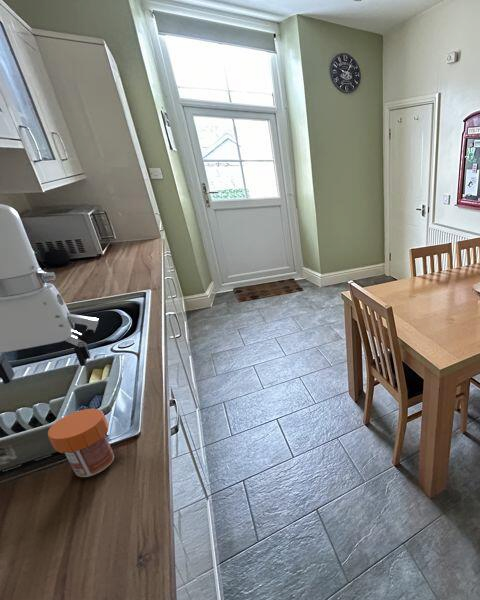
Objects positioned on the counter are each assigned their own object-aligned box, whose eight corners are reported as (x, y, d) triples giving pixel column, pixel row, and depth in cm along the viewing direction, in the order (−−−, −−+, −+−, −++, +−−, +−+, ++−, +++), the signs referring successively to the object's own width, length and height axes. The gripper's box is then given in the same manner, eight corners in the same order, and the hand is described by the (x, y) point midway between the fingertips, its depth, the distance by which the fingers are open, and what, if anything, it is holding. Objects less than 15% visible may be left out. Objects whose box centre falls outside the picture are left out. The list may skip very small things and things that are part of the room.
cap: (43, 454, 61) (35, 440, 59) (75, 422, 68) (69, 409, 66) (90, 451, 62) (83, 437, 60) (117, 420, 69) (112, 407, 67)
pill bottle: (118, 449, 72) (102, 409, 67) (110, 471, 67) (92, 431, 62) (81, 458, 69) (62, 418, 65) (70, 483, 64) (48, 441, 60)
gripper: (84, 269, 61) (110, 347, 68) (-66, 284, 51) (-18, 375, 58) (80, 282, 55) (109, 366, 62) (-88, 302, 45) (-32, 399, 52)
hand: (48, 370), depth 60 cm, fingers open, 9 cm apart
